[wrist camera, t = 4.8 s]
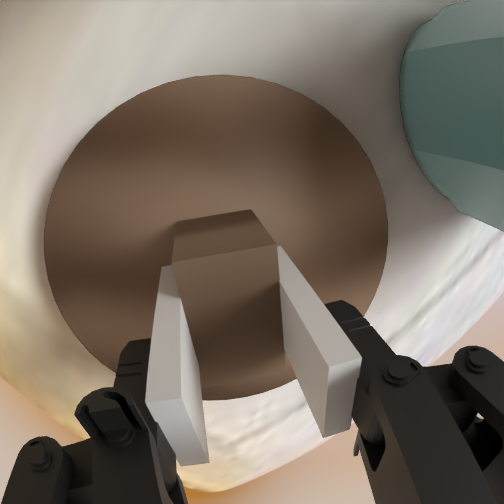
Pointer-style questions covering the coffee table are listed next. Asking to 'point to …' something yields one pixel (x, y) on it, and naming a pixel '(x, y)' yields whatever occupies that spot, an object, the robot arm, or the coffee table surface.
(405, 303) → the coffee table surface
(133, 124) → the lid
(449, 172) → the bowl
